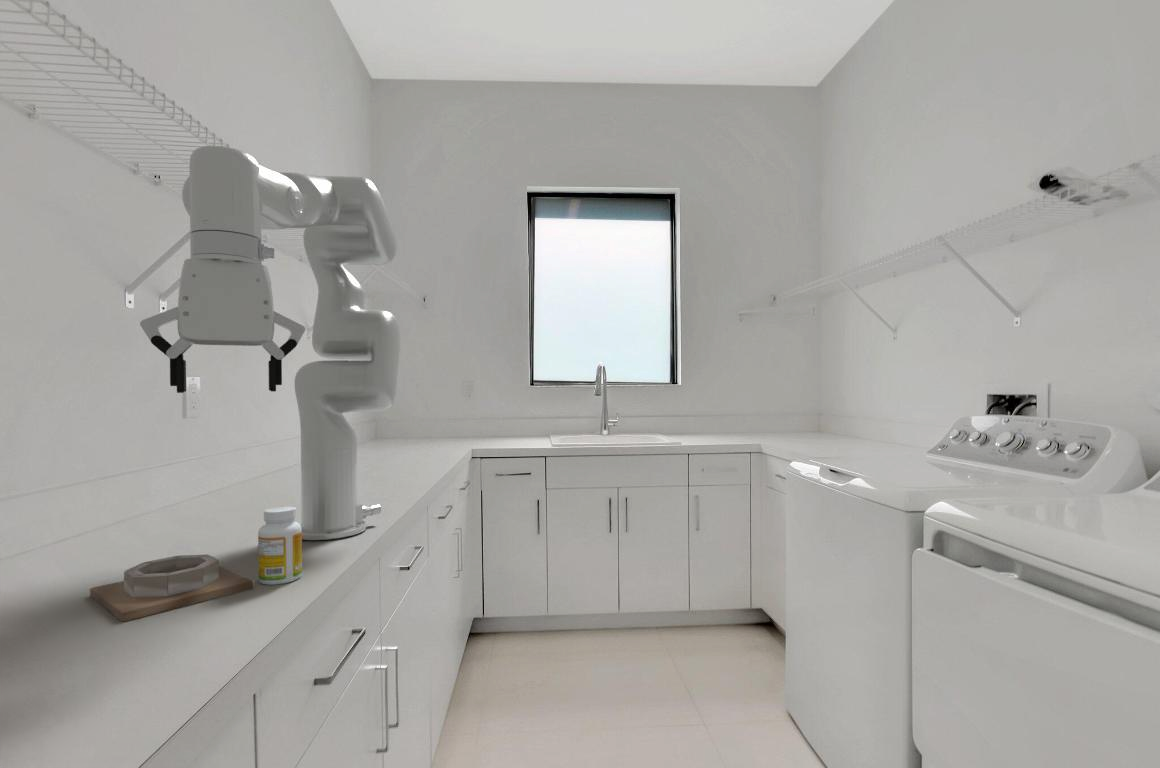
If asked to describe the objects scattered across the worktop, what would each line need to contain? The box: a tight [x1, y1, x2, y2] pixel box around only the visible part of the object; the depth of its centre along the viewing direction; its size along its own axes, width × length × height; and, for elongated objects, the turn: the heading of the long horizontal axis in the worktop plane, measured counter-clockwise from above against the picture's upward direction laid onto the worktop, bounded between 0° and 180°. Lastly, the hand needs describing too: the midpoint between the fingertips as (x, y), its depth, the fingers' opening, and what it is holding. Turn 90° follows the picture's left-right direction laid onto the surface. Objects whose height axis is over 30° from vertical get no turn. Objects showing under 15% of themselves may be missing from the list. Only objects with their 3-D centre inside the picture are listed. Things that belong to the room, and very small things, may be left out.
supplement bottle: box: [257, 506, 303, 586], centre depth 81 cm, size 5×5×10 cm
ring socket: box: [89, 554, 254, 623], centre depth 76 cm, size 14×14×4 cm
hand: (228, 391), depth 72 cm, fingers open, 9 cm apart
